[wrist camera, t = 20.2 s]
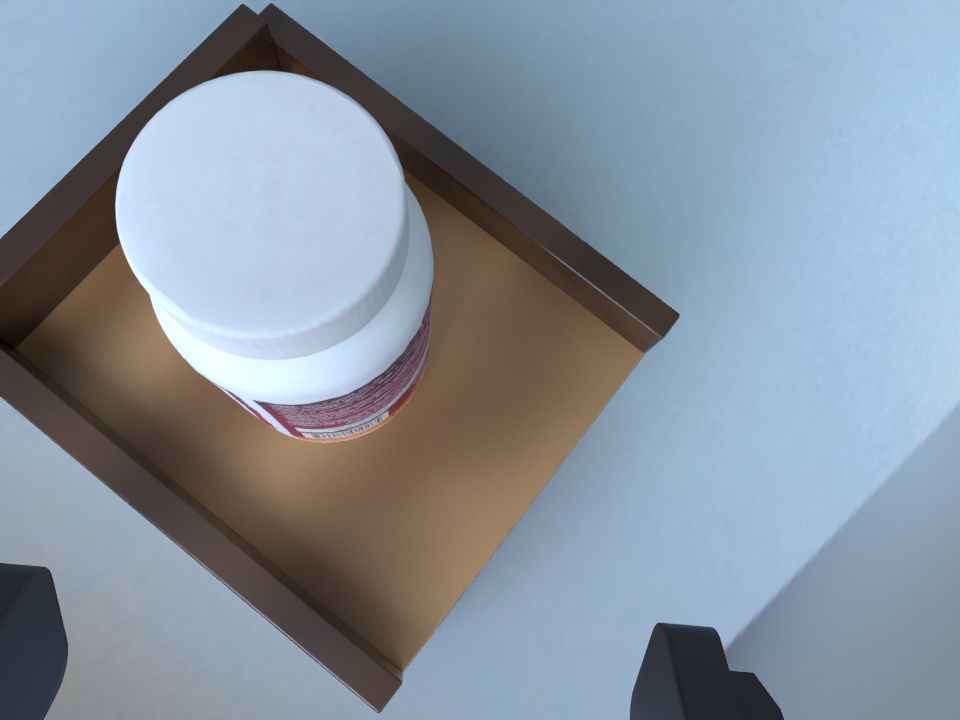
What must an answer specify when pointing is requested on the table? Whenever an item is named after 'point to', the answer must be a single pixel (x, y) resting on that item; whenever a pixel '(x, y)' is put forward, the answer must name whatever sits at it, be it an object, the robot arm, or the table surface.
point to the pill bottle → (282, 251)
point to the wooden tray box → (332, 465)
